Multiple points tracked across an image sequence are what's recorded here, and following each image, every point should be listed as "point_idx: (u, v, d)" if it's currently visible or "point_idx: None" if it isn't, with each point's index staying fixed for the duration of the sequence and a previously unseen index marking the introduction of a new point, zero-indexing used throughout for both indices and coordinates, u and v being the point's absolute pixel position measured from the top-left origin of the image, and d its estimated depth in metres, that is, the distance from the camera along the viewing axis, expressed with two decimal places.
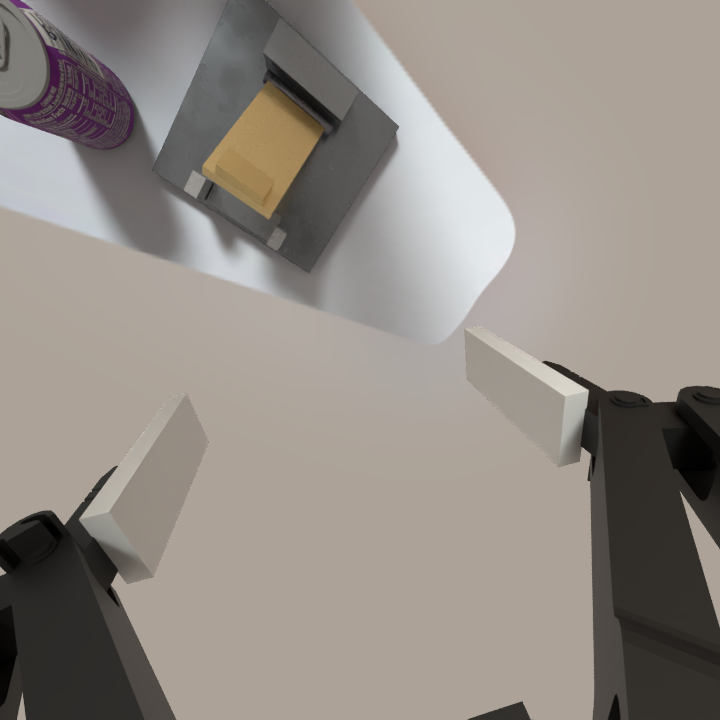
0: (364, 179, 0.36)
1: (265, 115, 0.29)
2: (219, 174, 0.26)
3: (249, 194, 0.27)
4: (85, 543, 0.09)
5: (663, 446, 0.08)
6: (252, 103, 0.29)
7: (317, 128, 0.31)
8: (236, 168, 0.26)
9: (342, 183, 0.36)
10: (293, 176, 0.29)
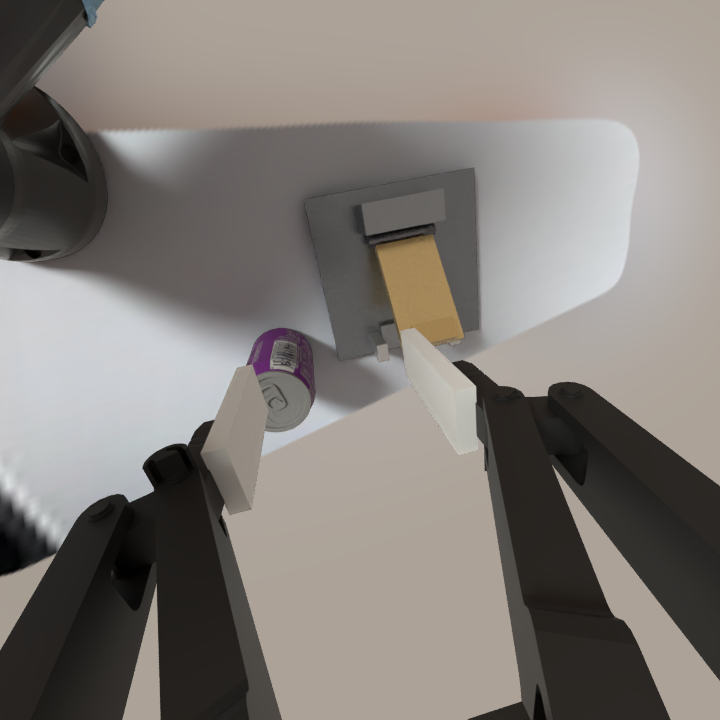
0: (474, 230, 0.37)
1: (397, 272, 0.33)
2: None
3: (445, 340, 0.31)
4: (204, 474, 0.10)
5: (536, 431, 0.09)
6: (384, 273, 0.33)
7: (428, 240, 0.34)
8: (428, 334, 0.30)
9: (460, 249, 0.38)
10: (450, 294, 0.33)
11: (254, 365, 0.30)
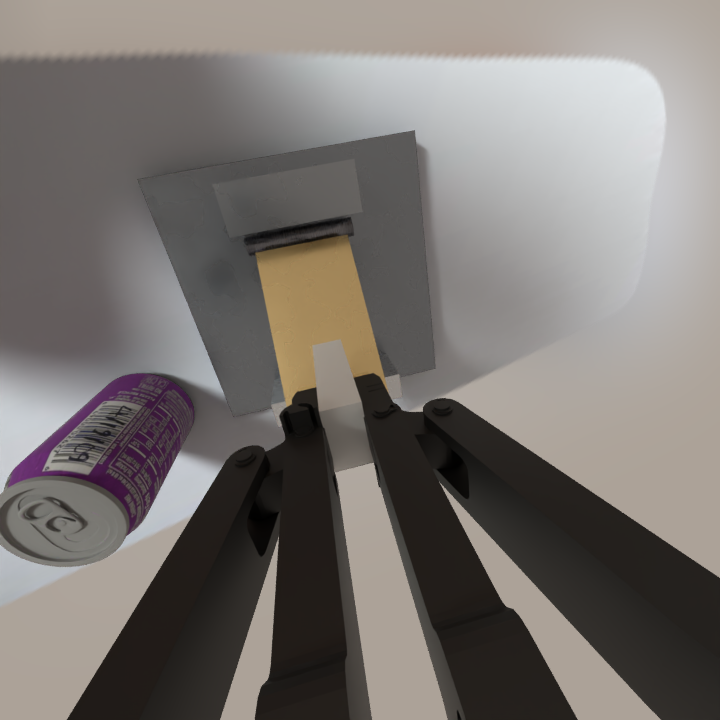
0: (420, 228, 0.25)
1: (287, 296, 0.21)
2: None
3: None
4: None
5: (415, 440, 0.09)
6: (266, 298, 0.20)
7: (341, 244, 0.21)
8: None
9: (401, 256, 0.25)
10: (371, 332, 0.20)
11: (25, 460, 0.17)
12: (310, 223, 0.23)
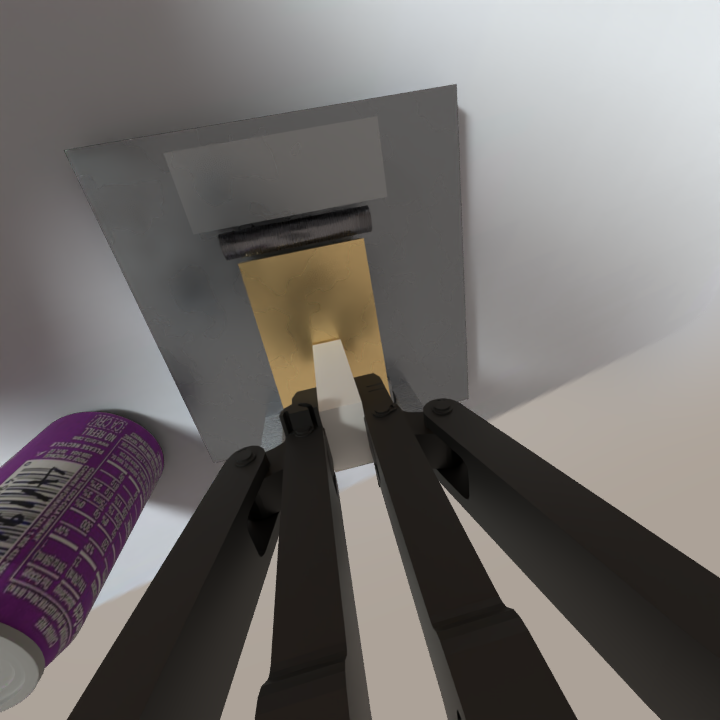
0: (458, 222, 0.18)
1: (286, 325, 0.17)
2: None
3: None
4: None
5: (415, 440, 0.09)
6: (260, 328, 0.17)
7: (354, 253, 0.16)
8: None
9: (431, 259, 0.19)
10: (383, 365, 0.18)
11: None
12: (311, 214, 0.17)
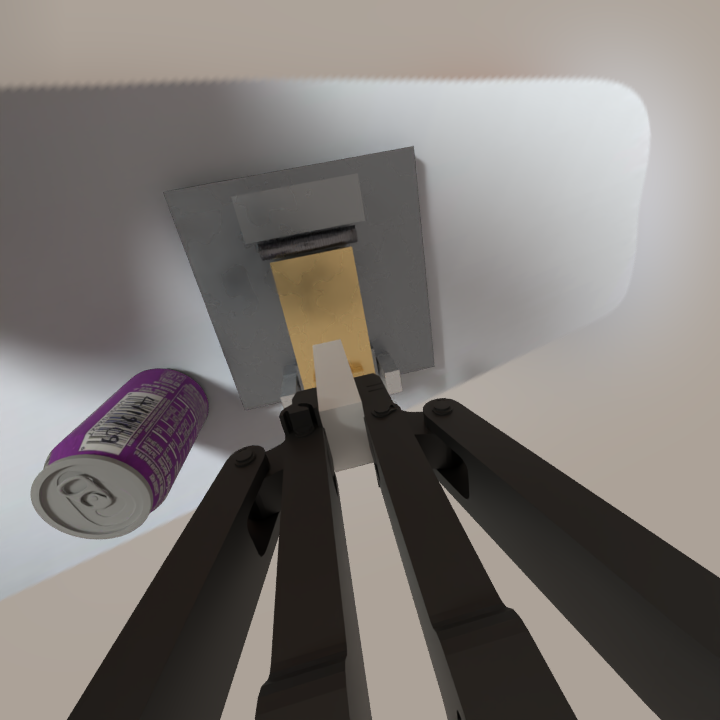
0: (419, 235, 0.27)
1: (300, 304, 0.25)
2: None
3: None
4: None
5: (415, 440, 0.09)
6: (283, 306, 0.25)
7: (346, 256, 0.24)
8: None
9: (401, 261, 0.27)
10: (366, 334, 0.26)
11: (62, 441, 0.20)
12: (317, 230, 0.25)
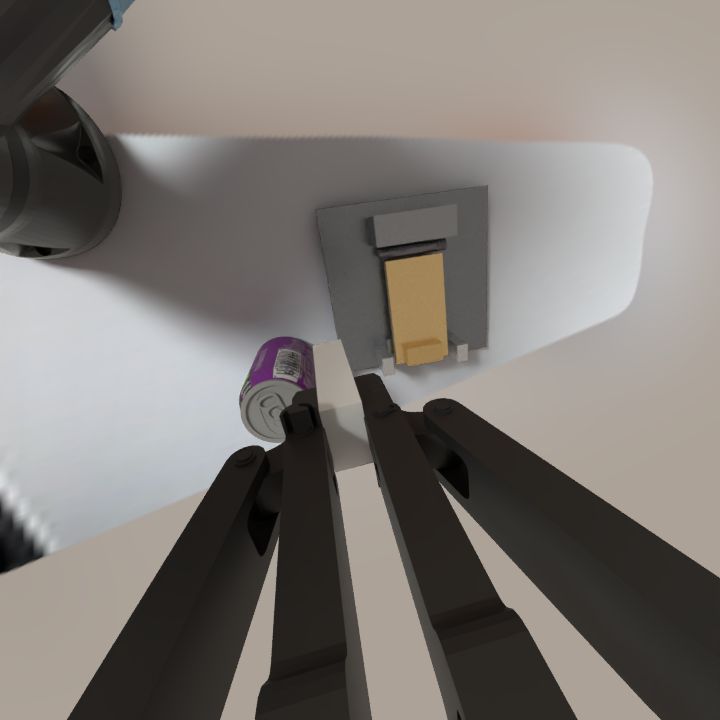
0: (485, 247, 0.37)
1: (402, 292, 0.35)
2: None
3: None
4: None
5: (415, 440, 0.09)
6: (390, 293, 0.35)
7: (437, 259, 0.34)
8: (419, 357, 0.36)
9: (470, 265, 0.37)
10: (445, 317, 0.36)
11: (257, 373, 0.29)
12: None
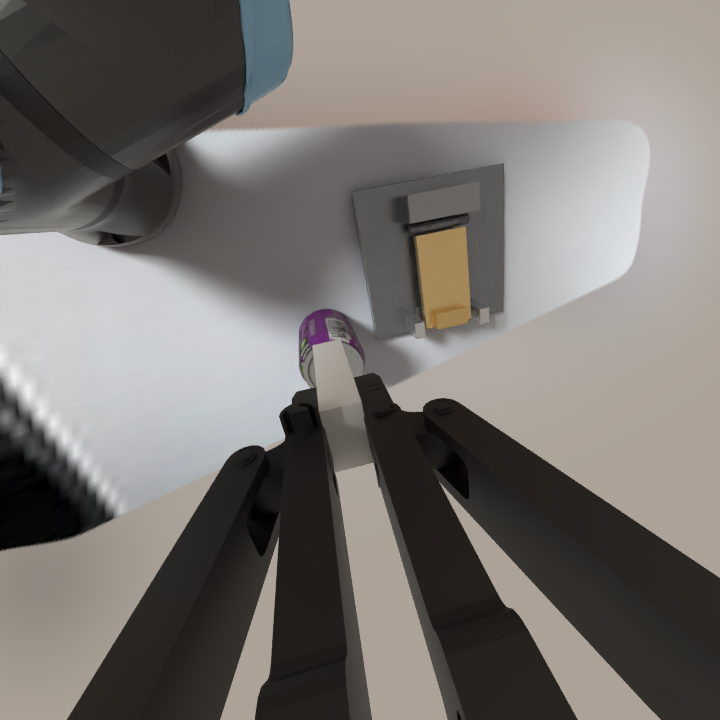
0: (501, 220, 0.41)
1: (430, 263, 0.39)
2: None
3: None
4: None
5: (415, 440, 0.09)
6: (420, 264, 0.39)
7: (461, 232, 0.39)
8: (447, 321, 0.41)
9: (489, 237, 0.42)
10: (468, 284, 0.41)
11: (314, 337, 0.34)
12: None
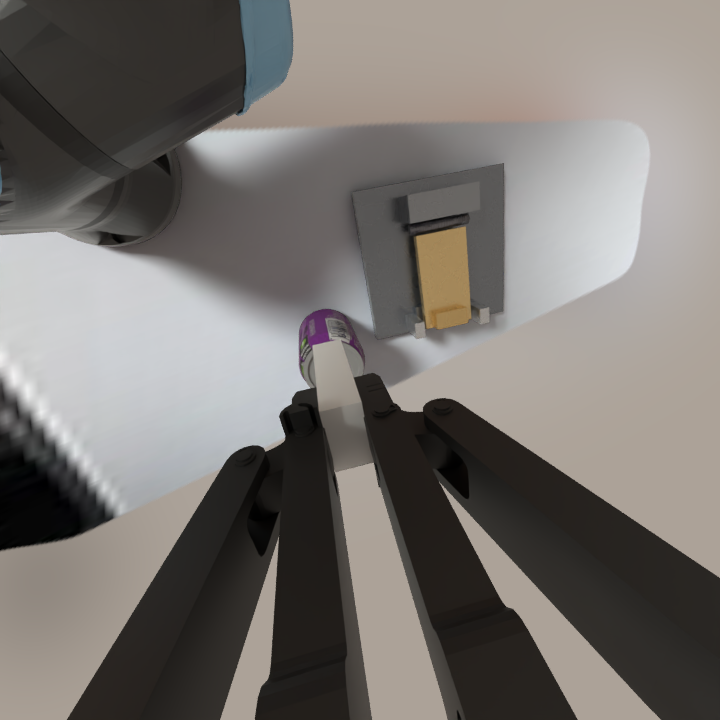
0: (501, 220, 0.41)
1: (430, 263, 0.39)
2: None
3: None
4: None
5: (415, 440, 0.09)
6: (420, 264, 0.39)
7: (461, 232, 0.39)
8: (447, 321, 0.41)
9: (489, 237, 0.42)
10: (468, 284, 0.41)
11: (314, 337, 0.34)
12: None
